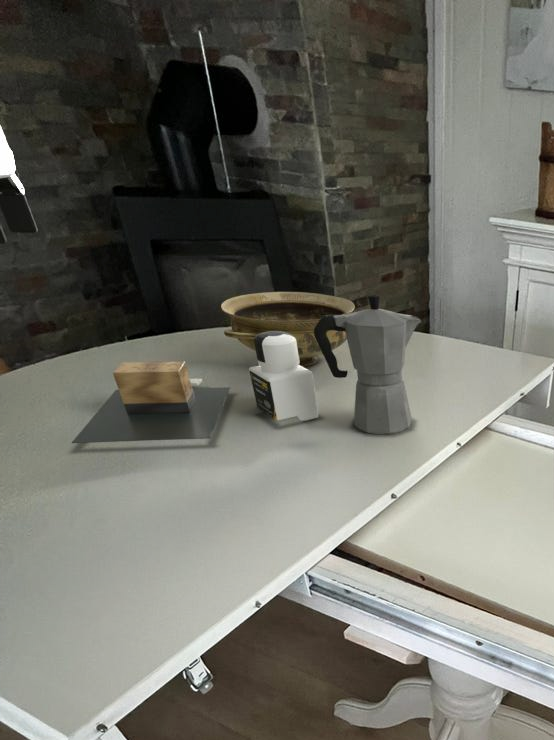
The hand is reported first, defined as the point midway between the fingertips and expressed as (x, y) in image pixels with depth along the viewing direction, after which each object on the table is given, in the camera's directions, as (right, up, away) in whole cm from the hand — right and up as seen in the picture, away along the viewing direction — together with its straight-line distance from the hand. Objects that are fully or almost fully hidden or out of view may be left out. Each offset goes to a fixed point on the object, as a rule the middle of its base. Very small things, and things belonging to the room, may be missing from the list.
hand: (9, 237), depth 74 cm
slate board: (+10, -17, +17) cm, 26 cm away
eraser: (+10, -14, +18) cm, 25 cm away
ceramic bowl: (+23, +4, +42) cm, 48 cm away
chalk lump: (+10, -8, +27) cm, 30 cm away
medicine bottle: (+29, -15, +20) cm, 38 cm away
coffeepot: (+43, -17, +19) cm, 50 cm away
